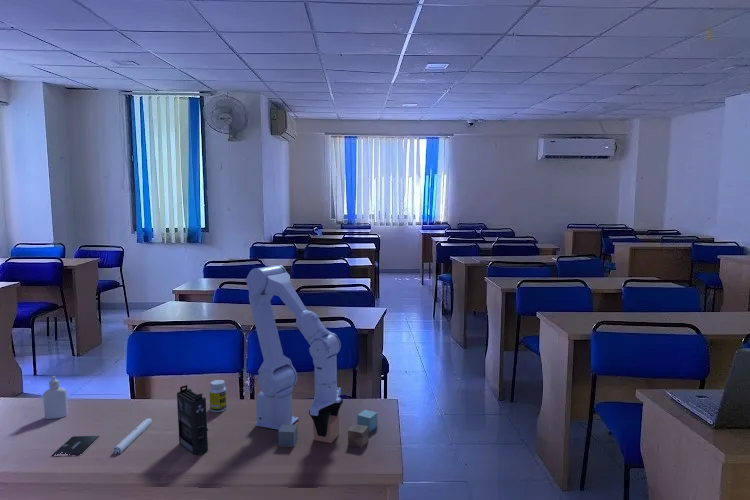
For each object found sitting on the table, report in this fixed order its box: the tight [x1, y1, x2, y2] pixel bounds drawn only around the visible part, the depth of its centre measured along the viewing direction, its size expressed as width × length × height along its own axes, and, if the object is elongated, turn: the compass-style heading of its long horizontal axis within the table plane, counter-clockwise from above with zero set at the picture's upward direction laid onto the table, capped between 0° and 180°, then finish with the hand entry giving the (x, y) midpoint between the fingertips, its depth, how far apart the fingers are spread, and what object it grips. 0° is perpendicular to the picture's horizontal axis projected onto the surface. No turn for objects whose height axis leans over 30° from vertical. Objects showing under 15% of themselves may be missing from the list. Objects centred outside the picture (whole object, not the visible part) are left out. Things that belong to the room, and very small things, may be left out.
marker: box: [112, 417, 152, 454], centre depth 136 cm, size 18×2×2 cm, turn 178°
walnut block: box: [347, 423, 369, 449], centre depth 132 cm, size 4×4×4 cm
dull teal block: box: [356, 409, 378, 433], centre depth 141 cm, size 4×4×4 cm
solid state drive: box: [51, 435, 100, 457], centre depth 132 cm, size 7×10×1 cm
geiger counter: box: [176, 384, 209, 457], centre depth 130 cm, size 10×4×15 cm, turn 45°
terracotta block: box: [313, 415, 340, 444], centre depth 135 cm, size 5×5×5 cm
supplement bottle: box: [209, 379, 227, 413], centre depth 153 cm, size 5×5×8 cm
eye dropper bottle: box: [42, 375, 69, 420], centre depth 149 cm, size 4×6×12 cm
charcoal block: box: [277, 424, 299, 448], centre depth 133 cm, size 4×4×4 cm
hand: (326, 430), depth 136 cm, fingers closed on terracotta block, 5 cm apart
